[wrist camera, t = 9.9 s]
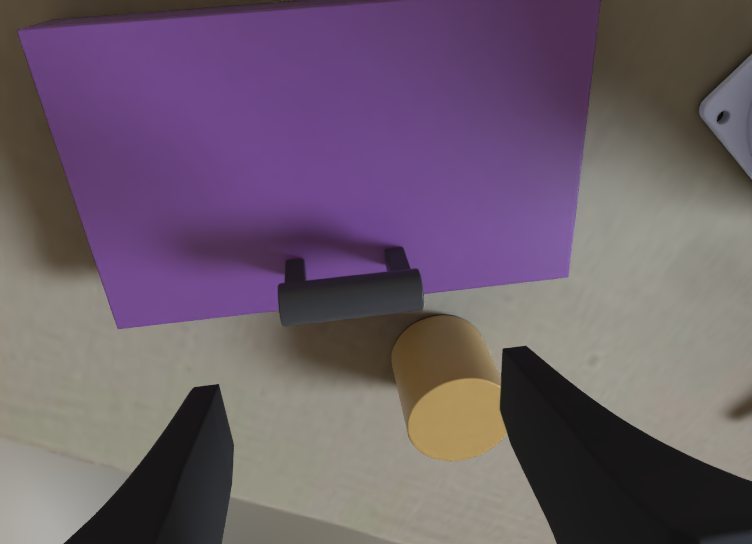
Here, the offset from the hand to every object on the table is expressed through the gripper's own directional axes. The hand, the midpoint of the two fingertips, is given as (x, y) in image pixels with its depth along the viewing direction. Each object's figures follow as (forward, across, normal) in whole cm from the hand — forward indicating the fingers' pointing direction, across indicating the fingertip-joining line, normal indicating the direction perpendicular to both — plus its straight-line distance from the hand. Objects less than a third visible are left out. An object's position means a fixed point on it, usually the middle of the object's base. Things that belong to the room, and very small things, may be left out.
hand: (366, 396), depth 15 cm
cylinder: (+10, -4, +7) cm, 13 cm away
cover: (+8, 0, -3) cm, 9 cm away
